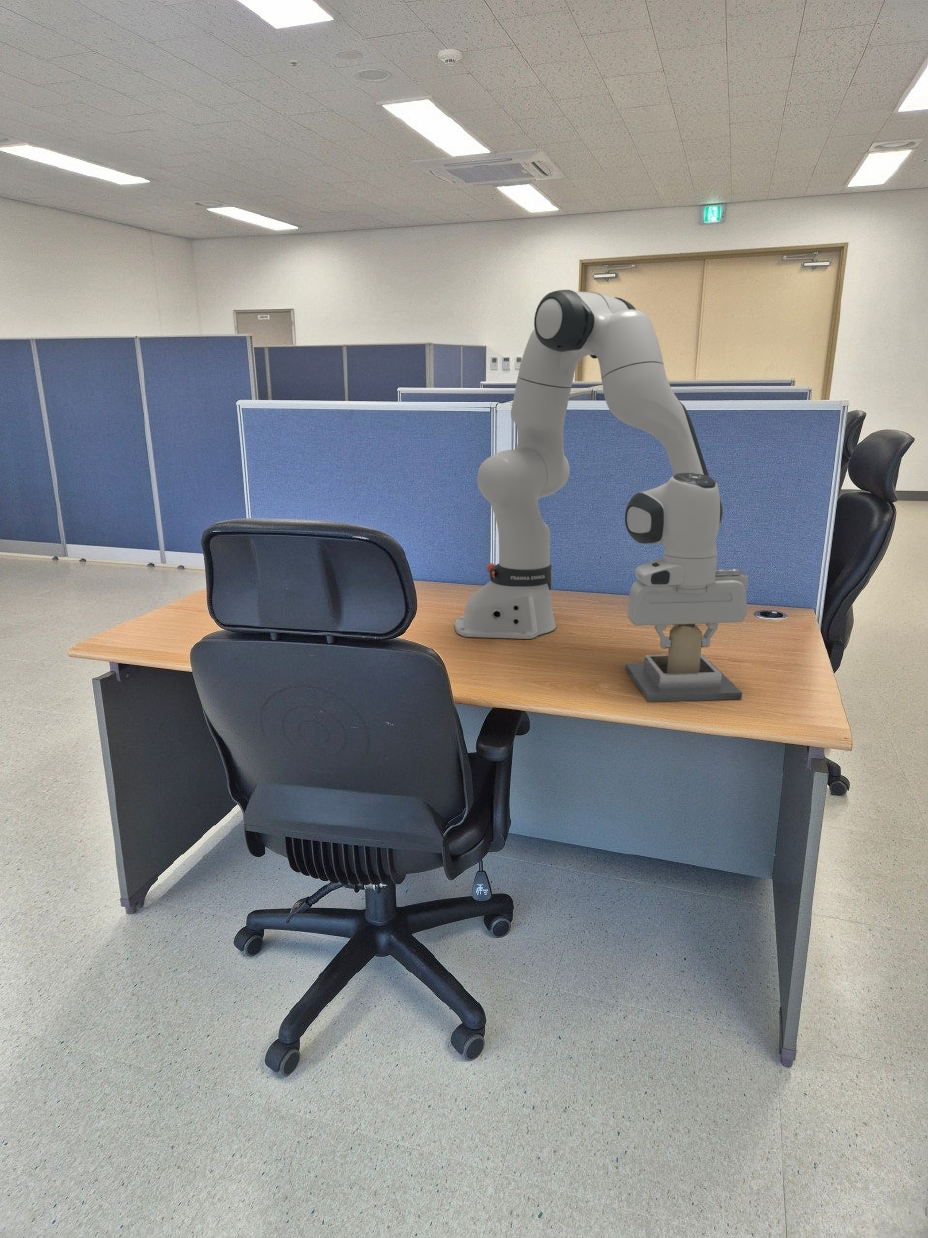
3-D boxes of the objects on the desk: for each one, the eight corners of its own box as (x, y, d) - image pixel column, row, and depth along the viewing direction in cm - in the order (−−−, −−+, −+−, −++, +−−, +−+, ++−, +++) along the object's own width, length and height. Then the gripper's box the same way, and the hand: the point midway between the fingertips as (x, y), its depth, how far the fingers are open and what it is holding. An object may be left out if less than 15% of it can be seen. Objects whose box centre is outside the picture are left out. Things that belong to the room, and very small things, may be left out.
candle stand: (647, 702, 132) (648, 681, 131) (625, 669, 147) (626, 650, 146) (741, 699, 132) (743, 678, 131) (709, 667, 148) (711, 648, 147)
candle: (693, 685, 136) (697, 630, 133) (662, 679, 139) (665, 625, 136) (702, 675, 140) (706, 622, 137) (672, 670, 143) (675, 617, 140)
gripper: (742, 564, 137) (736, 639, 141) (626, 568, 137) (623, 643, 141) (756, 572, 131) (749, 650, 135) (635, 576, 131) (632, 654, 134)
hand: (684, 647), depth 138 cm, fingers closed on candle, 5 cm apart
